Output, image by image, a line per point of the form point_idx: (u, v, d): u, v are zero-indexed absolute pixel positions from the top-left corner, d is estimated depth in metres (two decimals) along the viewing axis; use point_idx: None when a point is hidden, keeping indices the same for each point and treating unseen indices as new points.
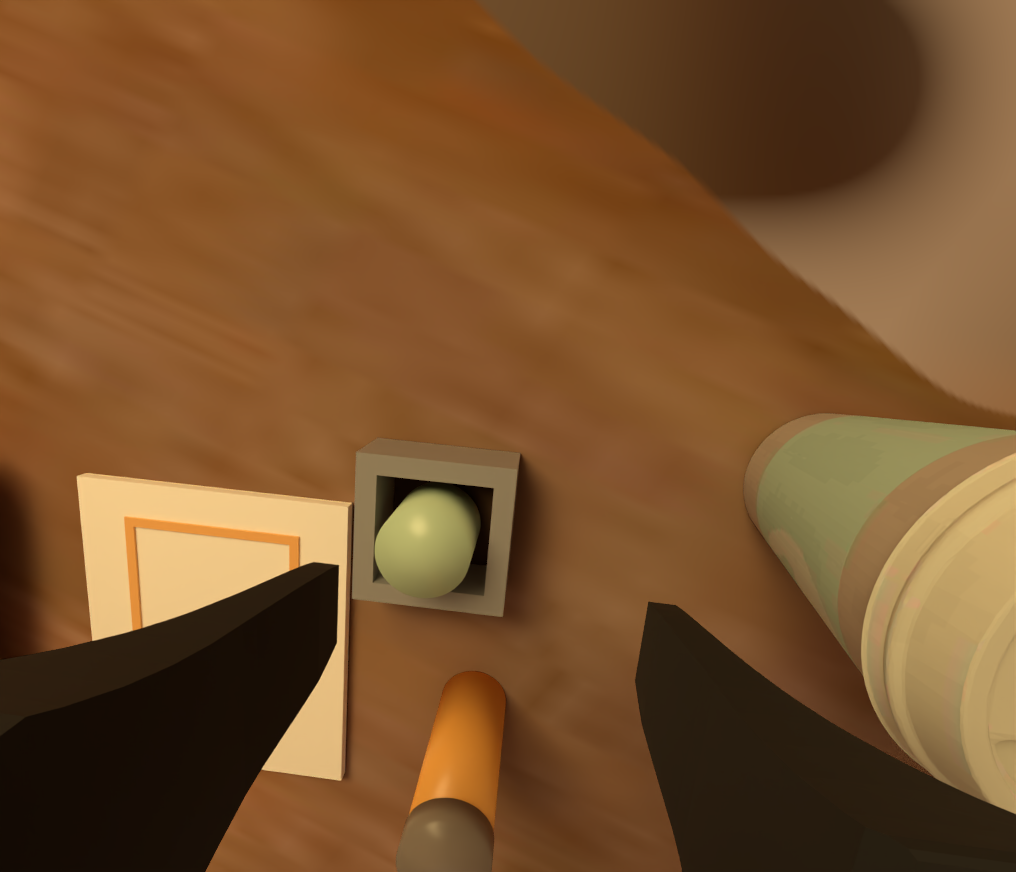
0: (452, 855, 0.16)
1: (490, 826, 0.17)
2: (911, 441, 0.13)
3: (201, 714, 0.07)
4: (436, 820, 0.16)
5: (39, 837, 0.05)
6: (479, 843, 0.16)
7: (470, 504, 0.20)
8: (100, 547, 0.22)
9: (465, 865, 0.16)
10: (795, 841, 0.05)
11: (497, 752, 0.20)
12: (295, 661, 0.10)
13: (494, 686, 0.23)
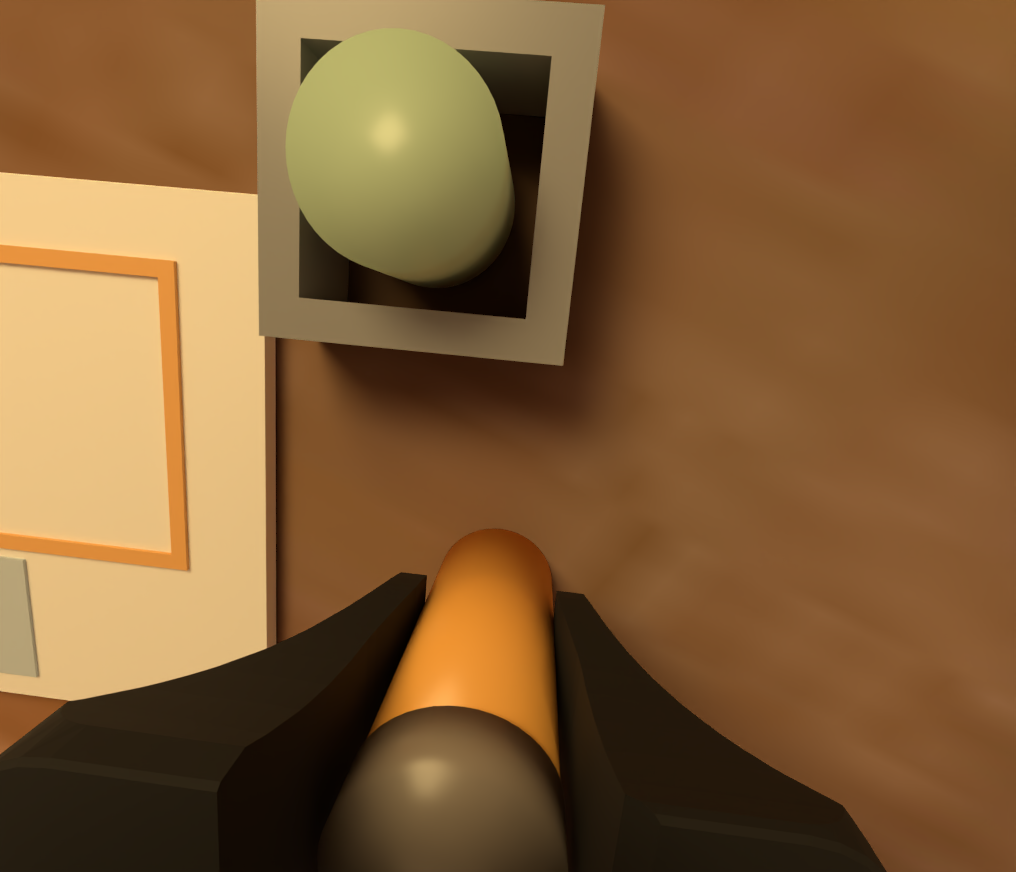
0: (465, 847, 0.06)
1: (557, 777, 0.07)
2: None
3: (341, 733, 0.07)
4: (422, 755, 0.06)
5: (247, 868, 0.05)
6: (538, 814, 0.06)
7: None
8: None
9: None
10: (599, 814, 0.05)
11: (551, 645, 0.10)
12: None
13: (533, 551, 0.13)
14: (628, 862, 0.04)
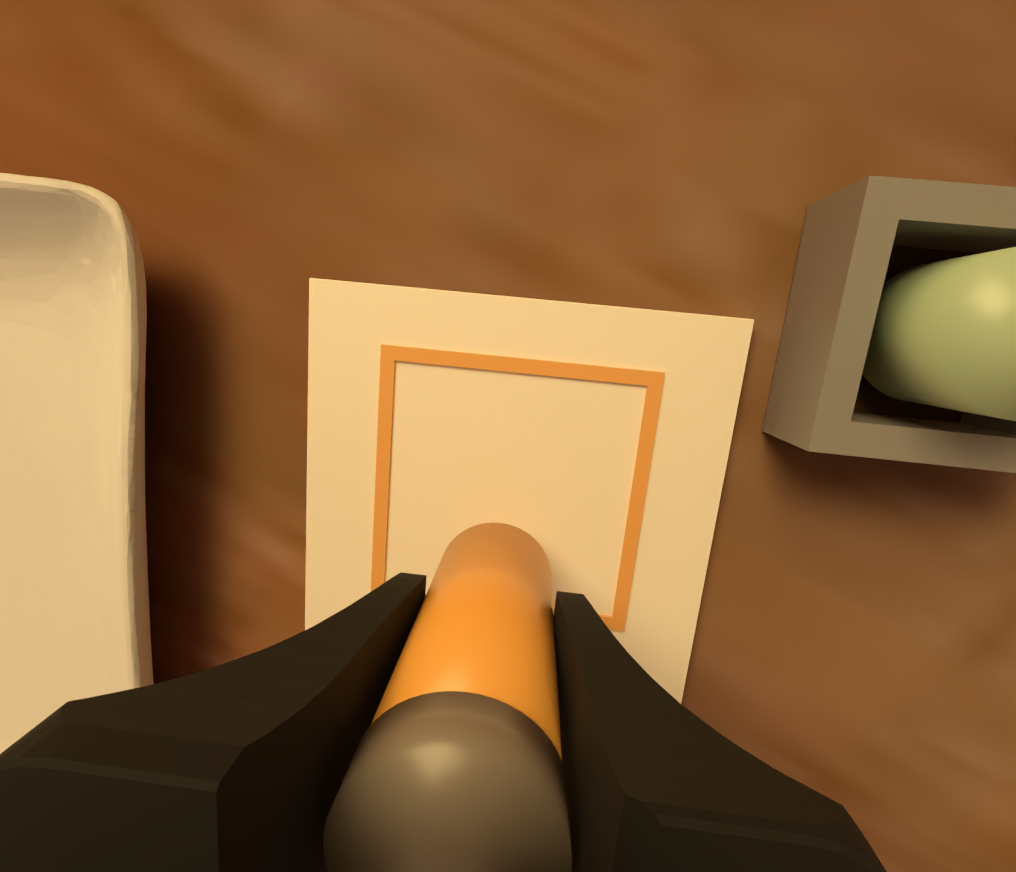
0: (469, 828, 0.06)
1: (559, 760, 0.07)
2: None
3: (340, 733, 0.07)
4: (425, 738, 0.06)
5: (246, 868, 0.05)
6: (540, 795, 0.06)
7: None
8: (335, 397, 0.14)
9: (503, 854, 0.06)
10: (599, 814, 0.05)
11: (551, 634, 0.10)
12: None
13: (532, 544, 0.13)
14: (628, 862, 0.04)
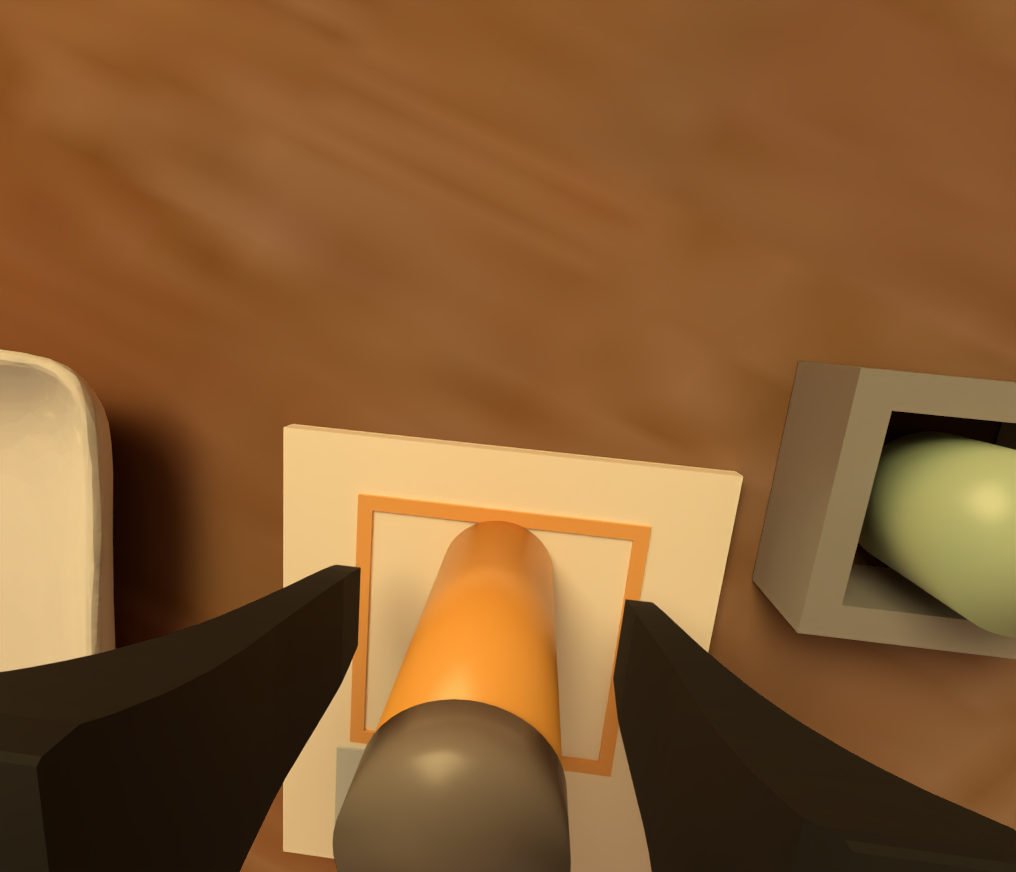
0: (472, 832, 0.06)
1: (559, 765, 0.07)
2: None
3: (235, 718, 0.07)
4: (430, 747, 0.06)
5: (90, 844, 0.05)
6: (542, 802, 0.06)
7: None
8: (311, 544, 0.14)
9: (505, 856, 0.06)
10: (746, 834, 0.05)
11: (552, 635, 0.10)
12: (320, 664, 0.10)
13: (534, 542, 0.13)
14: None
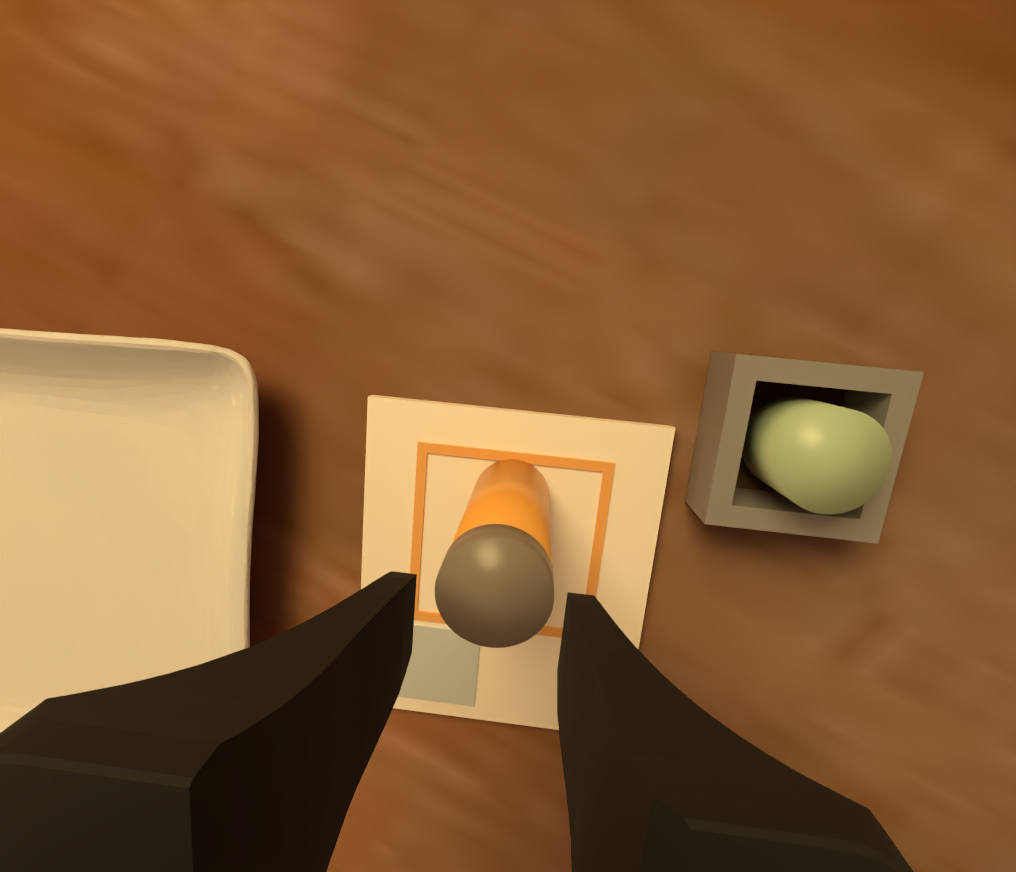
0: (505, 579, 0.13)
1: (549, 559, 0.14)
2: None
3: (325, 731, 0.07)
4: (484, 537, 0.13)
5: (223, 864, 0.05)
6: (539, 562, 0.13)
7: None
8: (384, 477, 0.20)
9: (521, 593, 0.13)
10: (622, 817, 0.05)
11: (547, 517, 0.17)
12: (385, 673, 0.10)
13: (536, 472, 0.19)
14: (656, 866, 0.04)
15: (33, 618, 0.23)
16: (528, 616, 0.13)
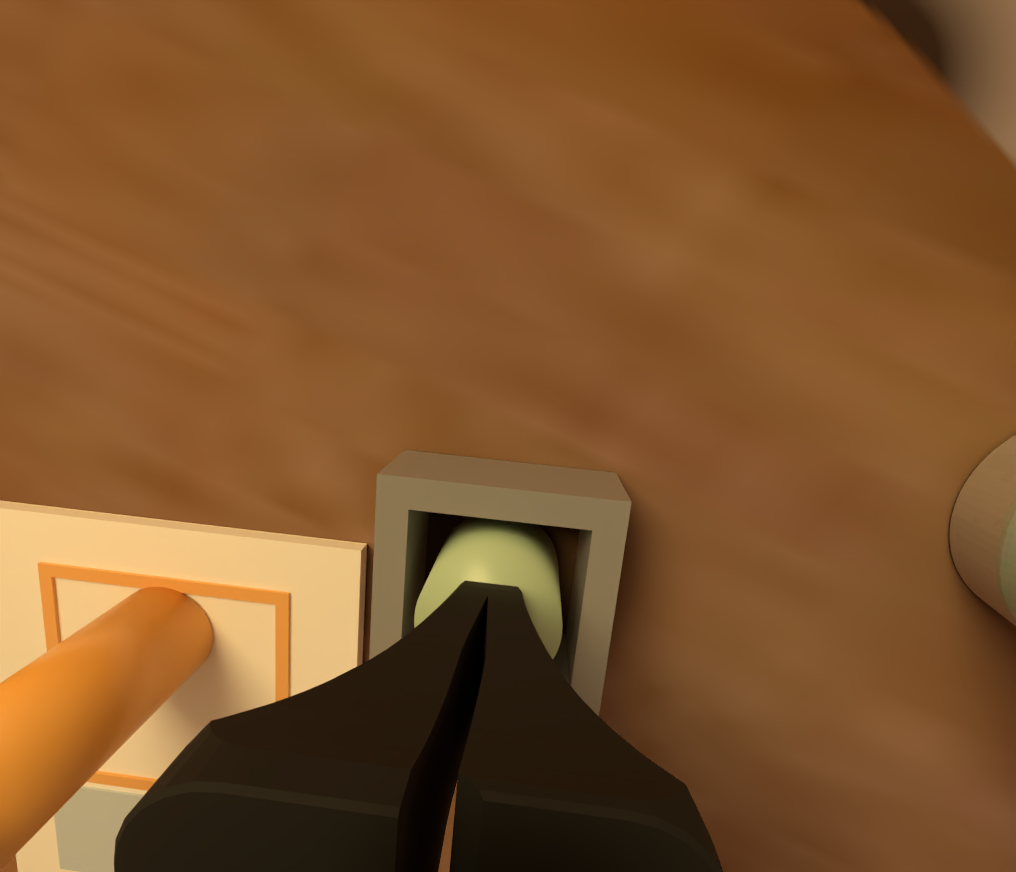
0: None
1: None
2: None
3: (445, 747, 0.07)
4: None
5: None
6: None
7: (547, 543, 0.13)
8: (6, 605, 0.16)
9: None
10: None
11: (111, 702, 0.12)
12: (472, 684, 0.10)
13: (181, 607, 0.15)
14: (462, 838, 0.04)
15: None
16: None
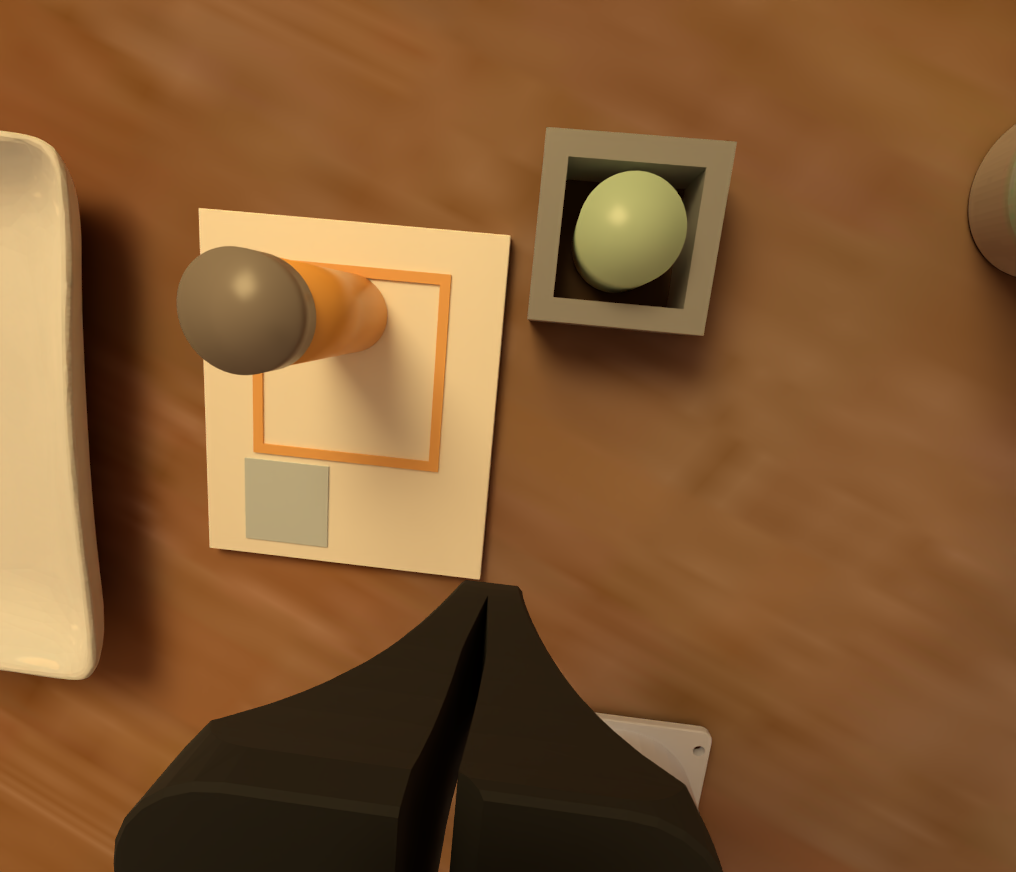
0: (246, 293, 0.12)
1: (308, 289, 0.13)
2: None
3: (445, 747, 0.07)
4: (224, 248, 0.12)
5: None
6: (278, 270, 0.12)
7: None
8: None
9: (265, 309, 0.12)
10: None
11: (350, 295, 0.16)
12: (472, 684, 0.10)
13: (369, 282, 0.19)
14: (462, 838, 0.04)
15: None
16: (274, 335, 0.12)
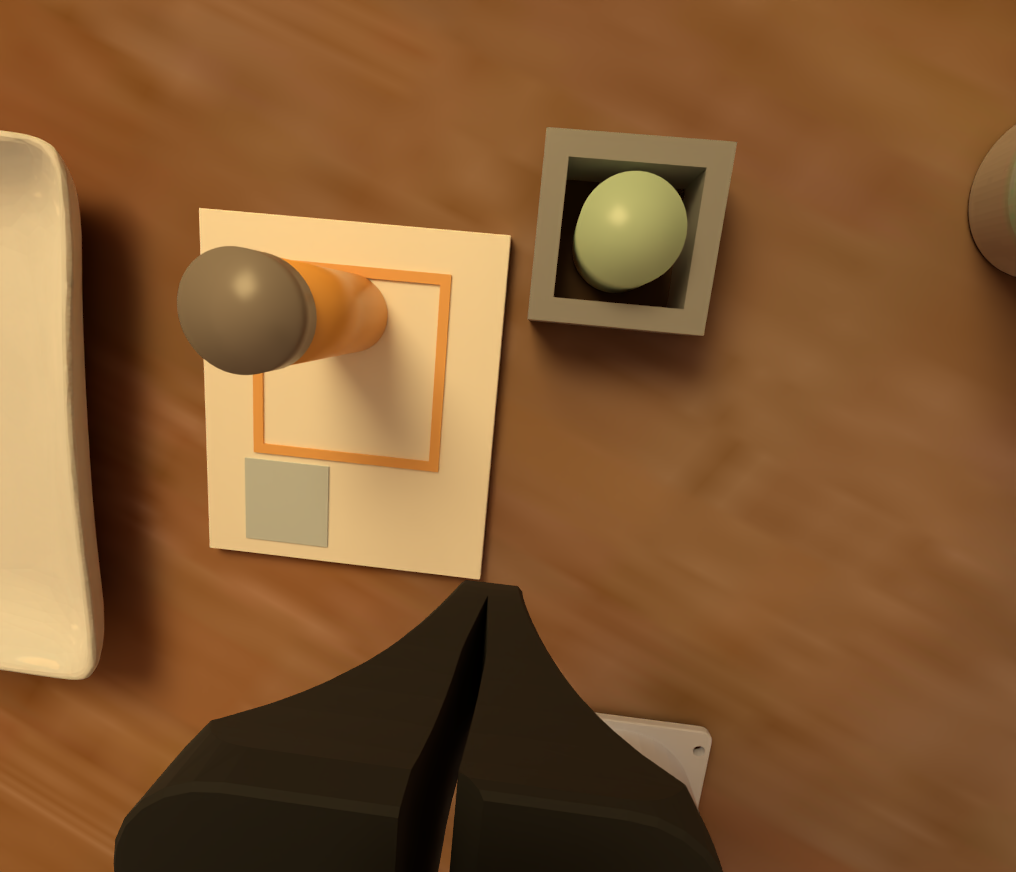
0: (247, 293, 0.12)
1: (308, 289, 0.13)
2: None
3: (445, 747, 0.07)
4: (224, 248, 0.12)
5: None
6: (279, 269, 0.12)
7: None
8: None
9: (265, 309, 0.12)
10: None
11: (350, 295, 0.16)
12: (472, 684, 0.10)
13: (369, 282, 0.19)
14: (462, 838, 0.04)
15: None
16: (274, 335, 0.12)
